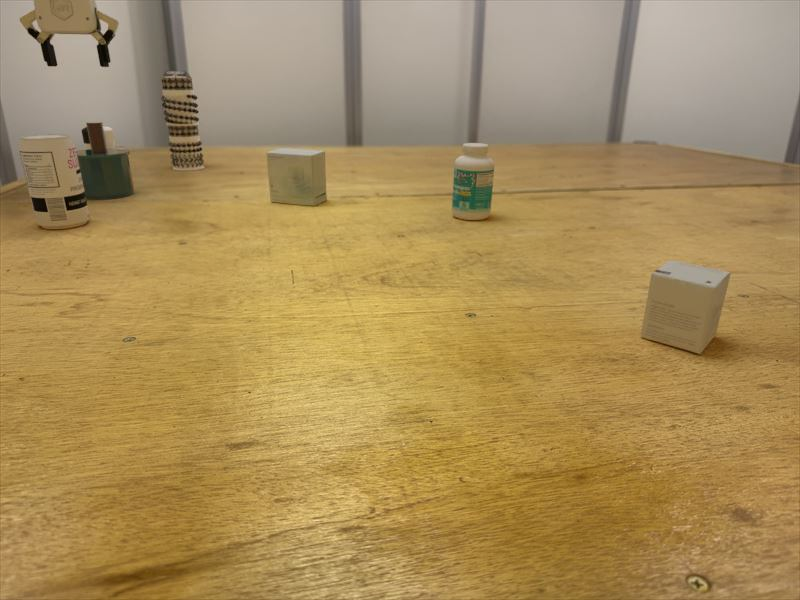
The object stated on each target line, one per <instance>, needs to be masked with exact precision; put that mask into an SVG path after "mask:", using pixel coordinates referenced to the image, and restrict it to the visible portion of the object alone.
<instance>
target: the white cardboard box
mask: <svg viewBox="0 0 800 600" xmlns="http://www.w3.org/2000/svg"><path fill="white" fill-rule="evenodd" d="M730 279H731V272H730V271H727V270H721V269H717V268H711V267H706V266H701V265H698V264H697V265H696V264H693V263H687V262H683V261H678V260H673V259H670V260H668V261H667V262H665V263H664V264H662V265H661V266H660V267H658V268H657V269H656V270H654V271H652V272H651V275H650V280H649V286H648V292H647V297H646V304H645V309H644V315H643V320H642V325H641V326H642V327H641V331H640V338H641V339H645V340H649V341H653V342H656V343H661V344H664V345H666V346H667V345H668V346H671V347H673V348H677V349H681V350H685V351H688V352H691V353H695V354H698V355H701V354H702V352H704V350H705V349H706V348H707V346H708V345H709V344H710V343H711V341H712V340H713V339H714V338H715V336H716V335H717V332H718V327H719V324H720V319H721V316H722V311H723V307H724V302H725V300H726V295H727V290H728V287H729V283H730Z"/></svg>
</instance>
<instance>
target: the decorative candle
mask: <svg viewBox="0 0 800 600" xmlns="http://www.w3.org/2000/svg"><path fill="white" fill-rule="evenodd" d="M160 79H161V86H162V89H161V91H162V96H160V101H162V104H161V106H162V107H163V108H164V109H165V110H164V111H163V115H164V116H165V117H164V121H165V125H166V126H167V129H168V133H169V135H168V139H169V142H168V145H169V146H170V147H171V148H169V152H171V154H170V156H169V157H170V159H171V162H170V164H171V165H172V168H171V169H172V170H173V171H181V172H182V171H183V172H185V171H186V172H189V171H197V170H198V171H199V170H203V169H205V165H204V163H205V160H204V159H203V158H204V154H203V153H202V151H203V148H202V147H201V146H202V141H201V136H200V133H199V125H200V122H199V120H200V119H199V118H200V117H197V115H198V114H199V110H198V109H197V108H198V106H199V105H198V103H196V102H195V101H196V100H198V96H197V95H196V94H195V90H194V88H193V86H194V85H193V77H192V76H191V75H190V73H189V72H187V71H183V70H175V71H174V70H166V71H164V72H163V74H162V76H161V77H160Z"/></svg>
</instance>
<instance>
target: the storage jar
mask: <svg viewBox="0 0 800 600" xmlns="http://www.w3.org/2000/svg"><path fill="white" fill-rule="evenodd" d="M78 163H79V167H80V172H81V177H82V182H83V187H84V191H85V196H86V200H94V201H95V200H99V201H100V200H101V201H102V200H114V199H120V198H121V199H122V198H126V197H129V196H132V195H134V194H135V188H134V181H133V175H132V170H131V165H130V158H129V155H126V156H121V157H113V158H98V159H81V158H78Z"/></svg>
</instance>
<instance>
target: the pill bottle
mask: <svg viewBox="0 0 800 600" xmlns="http://www.w3.org/2000/svg"><path fill="white" fill-rule="evenodd" d="M462 153H463V154H462V155H460V156H458V157H457V158H456V159H455V160H454V163H453V164H454V165H453V180H452V181H453V183H452V200H451V201H452V203H451V214H452V216H453V217H455V218H456V219H459V220H465V221H482V220H486V219H488V218H489V217H490V216H491V212H492V200H493V188H494V176H495V175H494V174H495V161H494V160H493V159H492V158H491V157H489V156H488V155H487V154H488V153H489V144H487V143H480V142H469V143H468V142H467V143H465V142H464V143H463V144H462Z"/></svg>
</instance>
